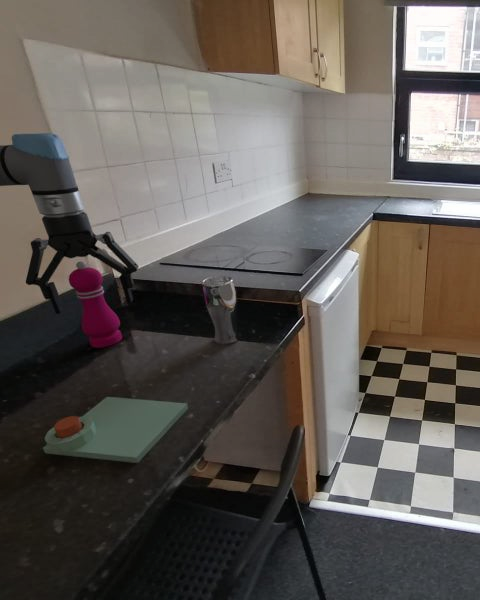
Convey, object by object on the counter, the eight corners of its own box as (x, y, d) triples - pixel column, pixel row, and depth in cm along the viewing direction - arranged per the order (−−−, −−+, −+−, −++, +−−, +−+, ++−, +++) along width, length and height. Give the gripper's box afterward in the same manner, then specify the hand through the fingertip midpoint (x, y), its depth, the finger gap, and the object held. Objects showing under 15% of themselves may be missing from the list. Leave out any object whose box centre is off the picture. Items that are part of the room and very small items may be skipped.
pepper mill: (108, 350, 92) (79, 268, 84) (80, 347, 93) (50, 266, 85) (131, 335, 99) (107, 257, 91) (106, 332, 100) (80, 255, 92)
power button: (52, 437, 63) (48, 428, 62) (69, 423, 66) (66, 415, 65) (70, 439, 63) (66, 430, 62) (87, 425, 66) (84, 416, 65)
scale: (41, 456, 63) (34, 441, 62) (108, 401, 75) (104, 388, 74) (135, 466, 61) (130, 451, 60) (188, 408, 74) (185, 395, 72)
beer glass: (249, 335, 98) (240, 278, 92) (225, 348, 93) (213, 288, 87) (230, 329, 102) (220, 273, 96) (206, 340, 96) (193, 282, 90)
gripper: (-23, 223, 76) (21, 323, 85) (130, 211, 85) (155, 302, 93) (-5, 215, 82) (34, 309, 91) (135, 205, 91) (159, 291, 100)
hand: (96, 306), depth 92 cm, fingers open, 13 cm apart
